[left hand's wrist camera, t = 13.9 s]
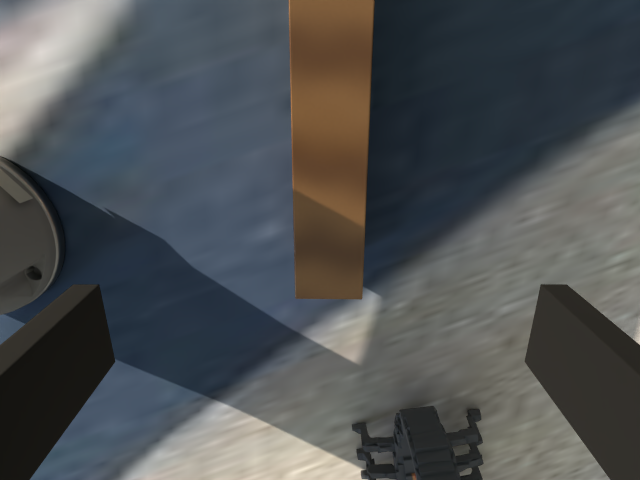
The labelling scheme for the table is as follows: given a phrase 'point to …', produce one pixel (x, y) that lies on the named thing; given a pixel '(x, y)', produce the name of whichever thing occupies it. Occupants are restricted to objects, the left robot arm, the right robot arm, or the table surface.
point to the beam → (330, 143)
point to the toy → (422, 448)
